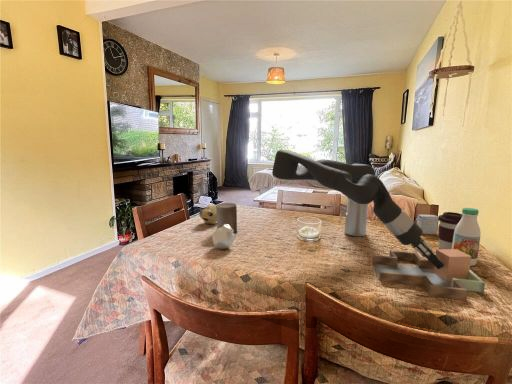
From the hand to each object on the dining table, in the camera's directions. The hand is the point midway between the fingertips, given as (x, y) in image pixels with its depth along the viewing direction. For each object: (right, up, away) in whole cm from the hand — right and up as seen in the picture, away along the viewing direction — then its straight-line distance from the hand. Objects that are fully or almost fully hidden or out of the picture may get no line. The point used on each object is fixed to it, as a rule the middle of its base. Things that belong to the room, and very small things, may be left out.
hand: (440, 266), depth 89 cm
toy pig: (-83, +6, +61) cm, 103 cm away
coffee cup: (+20, 0, +26) cm, 33 cm away
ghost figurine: (-72, 0, +27) cm, 77 cm away
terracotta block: (+4, -4, +2) cm, 6 cm away
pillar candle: (-73, +4, +46) cm, 86 cm away
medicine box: (+24, +4, +46) cm, 52 cm away
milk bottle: (+17, -2, +14) cm, 22 cm away
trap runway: (-5, -4, +2) cm, 7 cm away
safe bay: (+5, -4, 0) cm, 7 cm away
